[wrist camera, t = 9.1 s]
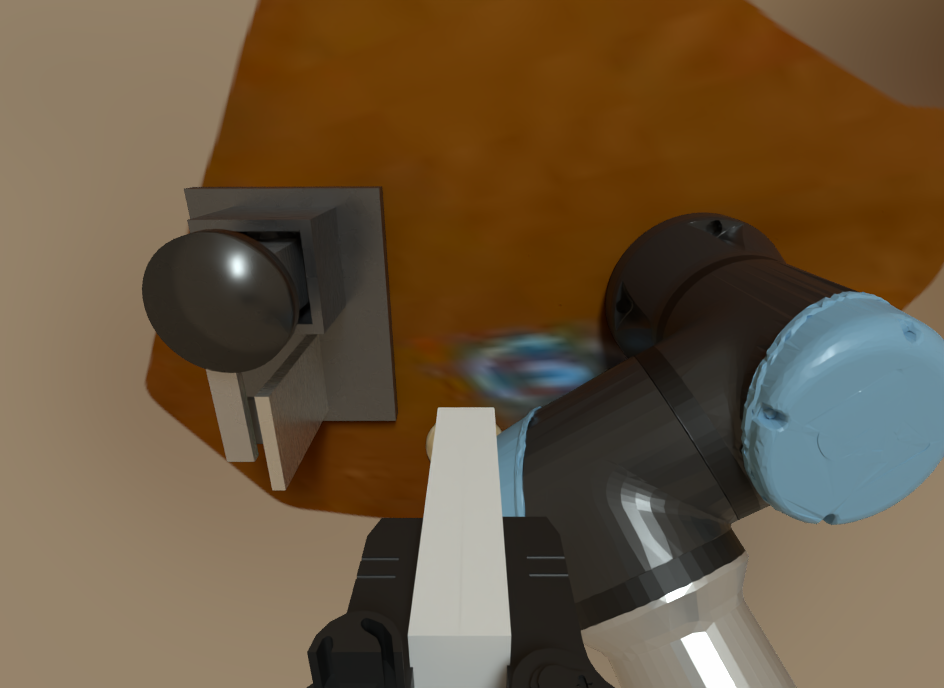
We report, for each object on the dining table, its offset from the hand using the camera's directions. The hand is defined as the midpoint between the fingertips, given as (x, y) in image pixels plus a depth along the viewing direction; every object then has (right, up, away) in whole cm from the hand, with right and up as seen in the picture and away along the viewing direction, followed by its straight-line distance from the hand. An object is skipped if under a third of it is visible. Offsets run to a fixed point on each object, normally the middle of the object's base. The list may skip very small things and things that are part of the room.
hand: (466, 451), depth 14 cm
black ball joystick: (-15, +5, +27) cm, 31 cm away
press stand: (-15, +6, +33) cm, 37 cm away
